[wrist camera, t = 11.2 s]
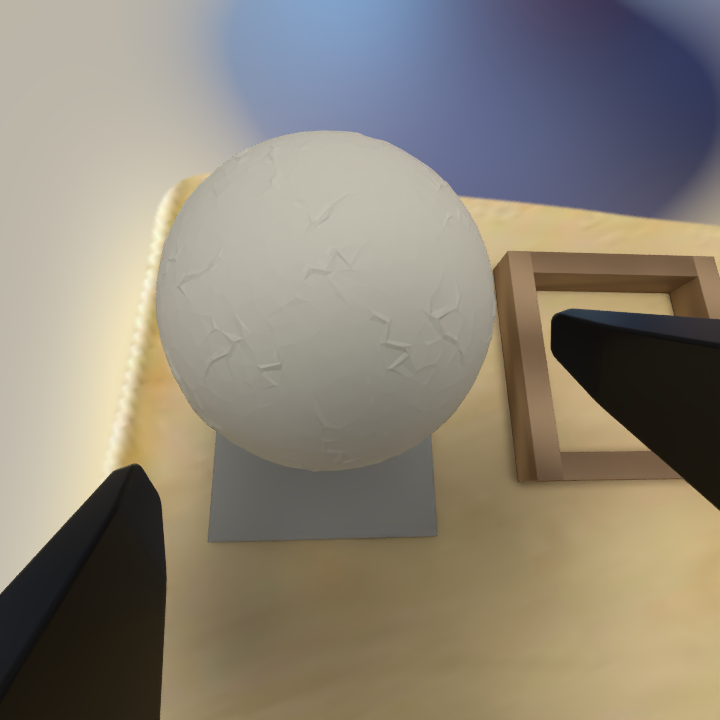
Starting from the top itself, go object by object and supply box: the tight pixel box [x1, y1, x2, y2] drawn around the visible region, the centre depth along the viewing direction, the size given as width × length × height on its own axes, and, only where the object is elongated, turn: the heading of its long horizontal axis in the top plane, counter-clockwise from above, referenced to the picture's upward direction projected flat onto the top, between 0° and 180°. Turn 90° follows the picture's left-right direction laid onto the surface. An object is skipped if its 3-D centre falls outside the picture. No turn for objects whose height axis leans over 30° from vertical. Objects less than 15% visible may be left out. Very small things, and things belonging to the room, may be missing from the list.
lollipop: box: [156, 131, 496, 472], centre depth 14 cm, size 7×7×15 cm
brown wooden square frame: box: [493, 251, 720, 482], centre depth 22 cm, size 11×11×2 cm
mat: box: [208, 431, 437, 542], centre depth 21 cm, size 12×10×1 cm
